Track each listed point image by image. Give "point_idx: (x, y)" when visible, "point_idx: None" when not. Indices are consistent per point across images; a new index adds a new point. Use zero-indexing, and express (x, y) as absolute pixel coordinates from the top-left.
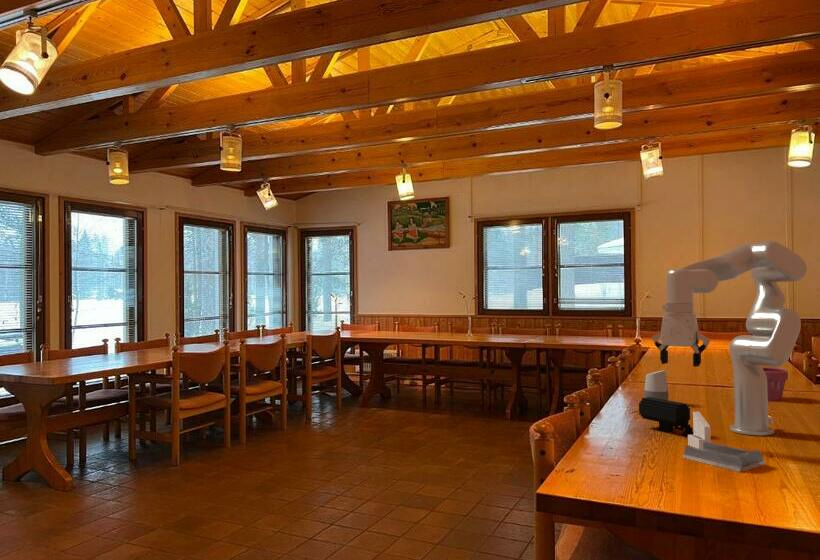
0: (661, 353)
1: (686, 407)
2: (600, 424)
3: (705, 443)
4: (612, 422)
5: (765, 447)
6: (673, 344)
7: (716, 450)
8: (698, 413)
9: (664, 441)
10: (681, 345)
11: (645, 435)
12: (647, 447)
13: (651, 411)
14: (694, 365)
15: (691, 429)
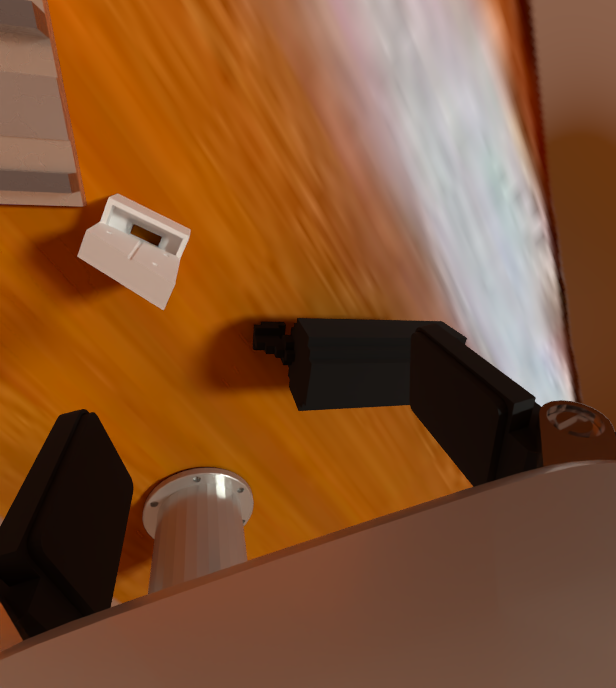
0: (507, 378)
1: (302, 396)
2: (519, 242)
3: (57, 173)
4: (500, 295)
5: (44, 406)
6: (393, 531)
7: (8, 169)
8: (156, 295)
9: (271, 209)
10: (185, 591)
11: (357, 232)
12: (252, 58)
13: (404, 327)
14: (68, 413)
15: (255, 342)
